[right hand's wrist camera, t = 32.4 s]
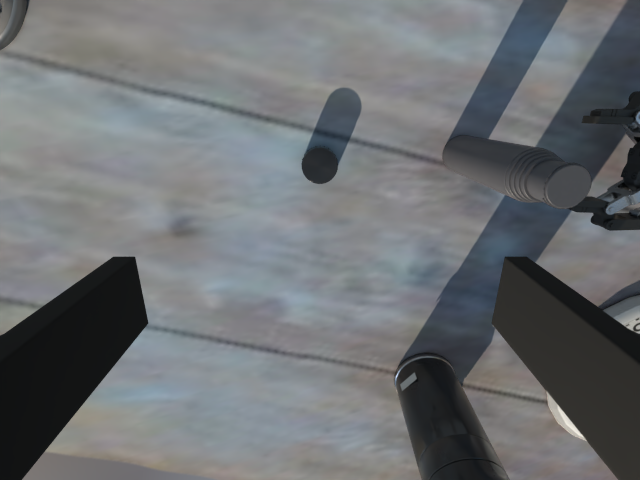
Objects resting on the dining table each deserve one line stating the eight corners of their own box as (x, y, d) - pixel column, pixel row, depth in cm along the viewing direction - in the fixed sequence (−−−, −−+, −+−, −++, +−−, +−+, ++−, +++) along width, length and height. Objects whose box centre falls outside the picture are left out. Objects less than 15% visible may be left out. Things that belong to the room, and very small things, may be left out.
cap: (297, 174, 44) (296, 177, 42) (308, 140, 43) (308, 141, 41) (330, 185, 44) (330, 189, 43) (342, 152, 43) (343, 154, 41)
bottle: (436, 147, 43) (527, 176, 24) (470, 128, 42) (591, 142, 23) (450, 178, 44) (548, 228, 25) (483, 160, 43) (609, 197, 25)
